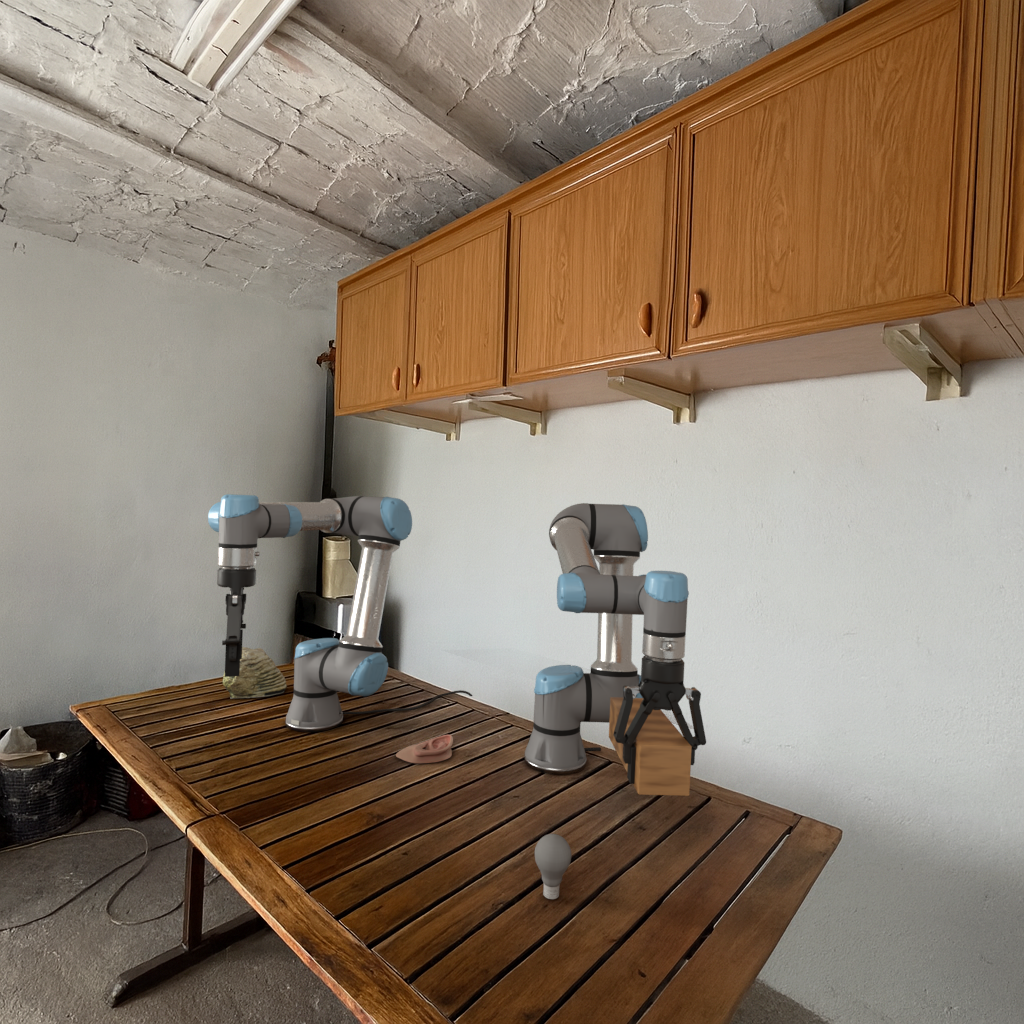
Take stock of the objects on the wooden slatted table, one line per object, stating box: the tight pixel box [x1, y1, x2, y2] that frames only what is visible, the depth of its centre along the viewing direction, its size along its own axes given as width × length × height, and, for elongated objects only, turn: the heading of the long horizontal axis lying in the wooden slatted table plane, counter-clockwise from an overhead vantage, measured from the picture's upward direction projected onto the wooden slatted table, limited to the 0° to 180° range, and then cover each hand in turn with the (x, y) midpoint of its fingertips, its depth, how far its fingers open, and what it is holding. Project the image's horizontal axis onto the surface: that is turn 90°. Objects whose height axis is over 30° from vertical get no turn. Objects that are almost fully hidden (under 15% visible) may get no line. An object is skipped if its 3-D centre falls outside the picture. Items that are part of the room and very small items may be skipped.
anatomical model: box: [395, 734, 454, 764], centre depth 157 cm, size 13×4×12 cm
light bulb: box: [534, 833, 573, 900], centre depth 103 cm, size 6×6×10 cm
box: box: [608, 697, 692, 797], centre depth 124 cm, size 27×9×9 cm, turn 2°
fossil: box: [222, 646, 288, 699], centre depth 198 cm, size 9×18×15 cm, turn 132°
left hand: (233, 667), depth 134 cm, fingers open, 13 cm apart
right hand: (657, 781), depth 114 cm, fingers closed on box, 9 cm apart
